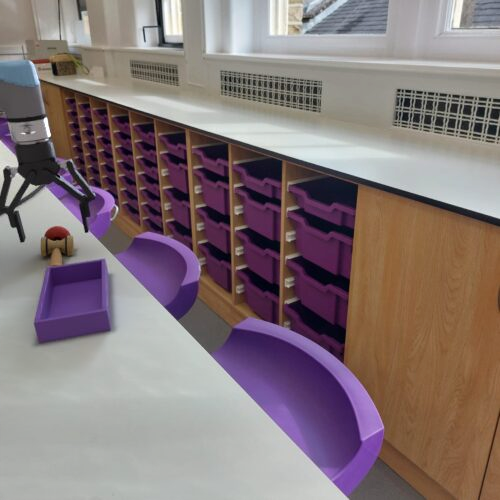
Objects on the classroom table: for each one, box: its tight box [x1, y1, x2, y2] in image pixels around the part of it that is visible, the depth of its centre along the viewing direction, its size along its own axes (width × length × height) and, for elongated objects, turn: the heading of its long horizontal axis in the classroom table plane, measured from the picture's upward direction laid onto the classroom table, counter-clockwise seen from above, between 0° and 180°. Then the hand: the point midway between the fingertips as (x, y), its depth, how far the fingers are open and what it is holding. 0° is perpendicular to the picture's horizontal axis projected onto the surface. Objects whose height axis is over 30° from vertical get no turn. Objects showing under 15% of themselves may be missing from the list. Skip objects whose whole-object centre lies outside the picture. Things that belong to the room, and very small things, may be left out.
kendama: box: [40, 225, 74, 267], centre depth 111 cm, size 8×6×18 cm
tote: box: [33, 258, 112, 344], centre depth 91 cm, size 22×12×5 cm, turn 16°
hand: (55, 235), depth 109 cm, fingers open, 13 cm apart
